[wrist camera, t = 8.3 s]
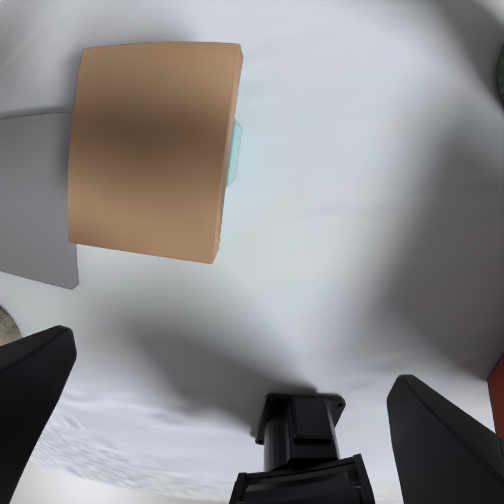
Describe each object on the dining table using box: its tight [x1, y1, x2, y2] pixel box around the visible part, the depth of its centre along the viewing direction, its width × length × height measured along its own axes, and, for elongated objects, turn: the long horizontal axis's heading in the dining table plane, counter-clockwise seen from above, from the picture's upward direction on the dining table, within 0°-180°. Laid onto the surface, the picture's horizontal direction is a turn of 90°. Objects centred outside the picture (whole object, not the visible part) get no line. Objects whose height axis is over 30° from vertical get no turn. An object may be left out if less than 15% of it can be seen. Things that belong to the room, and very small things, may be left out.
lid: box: [67, 42, 243, 264], centre depth 12 cm, size 9×7×2 cm
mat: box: [0, 112, 79, 290], centre depth 18 cm, size 12×10×1 cm
